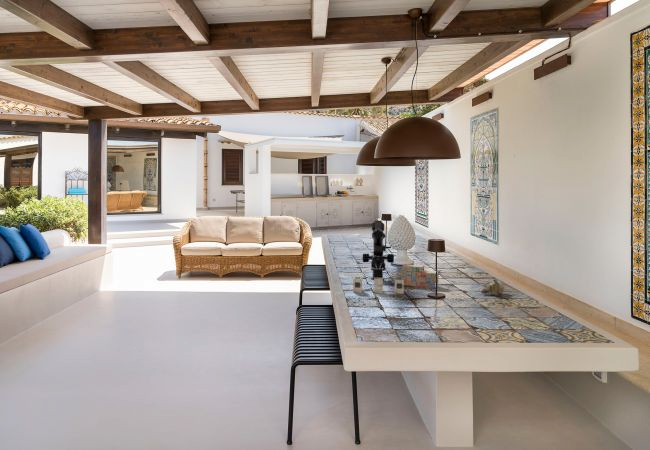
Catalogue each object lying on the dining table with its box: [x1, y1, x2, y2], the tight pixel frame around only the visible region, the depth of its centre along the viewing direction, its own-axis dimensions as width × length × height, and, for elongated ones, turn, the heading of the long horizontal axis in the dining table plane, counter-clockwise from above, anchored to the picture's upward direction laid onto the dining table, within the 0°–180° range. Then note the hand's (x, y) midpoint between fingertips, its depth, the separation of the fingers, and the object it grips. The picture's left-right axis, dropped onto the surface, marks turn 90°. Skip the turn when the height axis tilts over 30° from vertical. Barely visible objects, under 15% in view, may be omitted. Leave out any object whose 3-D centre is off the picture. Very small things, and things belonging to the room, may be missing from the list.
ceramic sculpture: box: [480, 279, 505, 297], centre depth 276 cm, size 11×9×15 cm
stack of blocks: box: [401, 263, 440, 289], centre depth 298 cm, size 21×6×12 cm, turn 62°
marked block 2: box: [394, 277, 405, 295], centre depth 280 cm, size 5×5×8 cm
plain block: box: [373, 277, 384, 294], centre depth 281 cm, size 5×5×8 cm
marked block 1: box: [352, 276, 363, 294], centre depth 282 cm, size 5×5×8 cm
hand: (378, 269), depth 286 cm, fingers closed
